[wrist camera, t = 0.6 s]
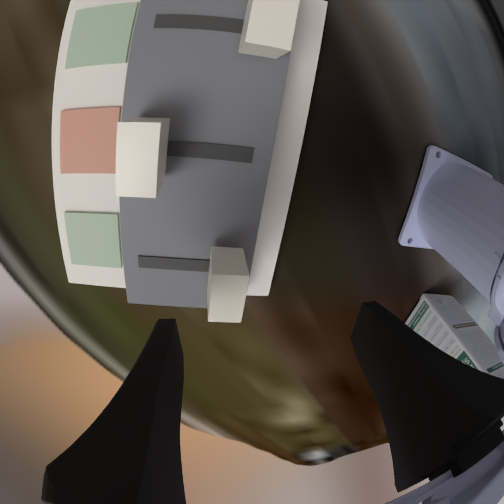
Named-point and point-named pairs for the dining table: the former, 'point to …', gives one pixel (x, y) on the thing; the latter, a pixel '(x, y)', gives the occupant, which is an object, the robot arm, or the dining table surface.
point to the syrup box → (455, 333)
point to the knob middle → (141, 156)
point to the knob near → (268, 27)
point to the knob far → (227, 284)
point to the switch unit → (177, 142)
